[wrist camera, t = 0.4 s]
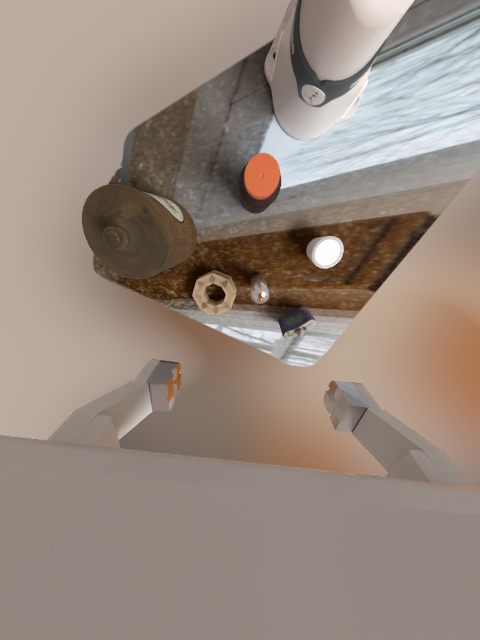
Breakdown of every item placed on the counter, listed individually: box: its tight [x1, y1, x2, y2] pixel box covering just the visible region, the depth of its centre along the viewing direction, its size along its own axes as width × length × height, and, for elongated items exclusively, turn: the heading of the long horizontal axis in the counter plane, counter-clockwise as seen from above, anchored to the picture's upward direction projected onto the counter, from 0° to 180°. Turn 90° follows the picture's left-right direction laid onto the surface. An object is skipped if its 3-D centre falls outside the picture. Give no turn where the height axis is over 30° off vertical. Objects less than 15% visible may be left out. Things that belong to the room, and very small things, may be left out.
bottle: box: [239, 153, 281, 213], centre depth 34 cm, size 7×7×20 cm
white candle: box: [251, 274, 269, 304], centre depth 45 cm, size 4×4×15 cm
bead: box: [192, 270, 237, 315], centre depth 52 cm, size 11×11×4 cm
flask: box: [278, 306, 316, 338], centre depth 51 cm, size 9×3×11 cm, turn 123°
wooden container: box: [82, 184, 197, 279], centre depth 37 cm, size 15×15×22 cm
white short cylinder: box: [306, 236, 344, 268], centre depth 44 cm, size 7×7×7 cm
